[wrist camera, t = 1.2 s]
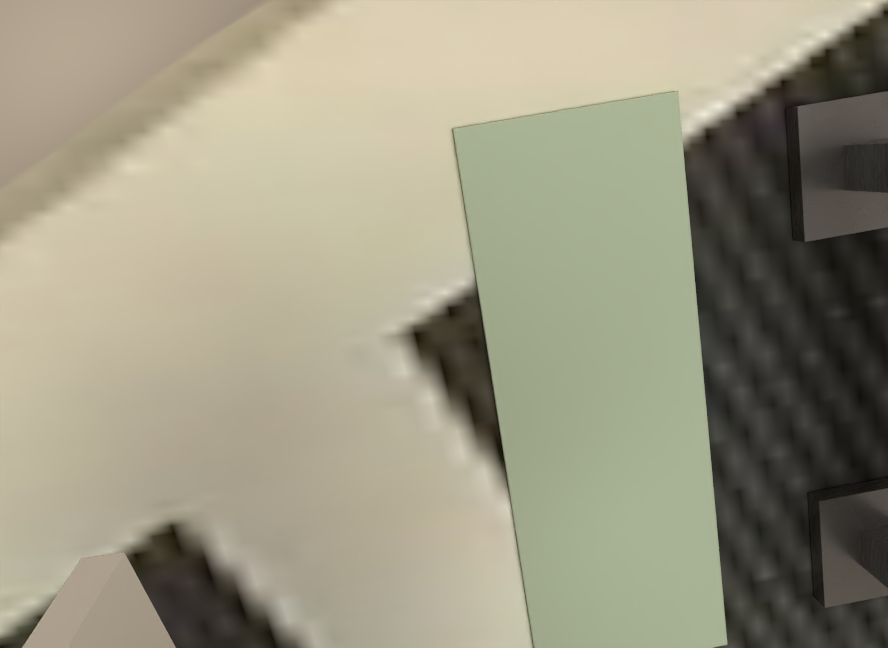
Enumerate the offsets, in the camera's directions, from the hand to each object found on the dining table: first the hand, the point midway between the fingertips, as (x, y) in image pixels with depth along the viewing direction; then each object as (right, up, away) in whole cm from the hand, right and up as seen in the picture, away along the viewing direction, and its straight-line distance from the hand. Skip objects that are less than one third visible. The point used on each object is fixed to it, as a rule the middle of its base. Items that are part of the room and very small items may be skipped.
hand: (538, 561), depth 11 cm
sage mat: (+6, 0, +24) cm, 25 cm away
